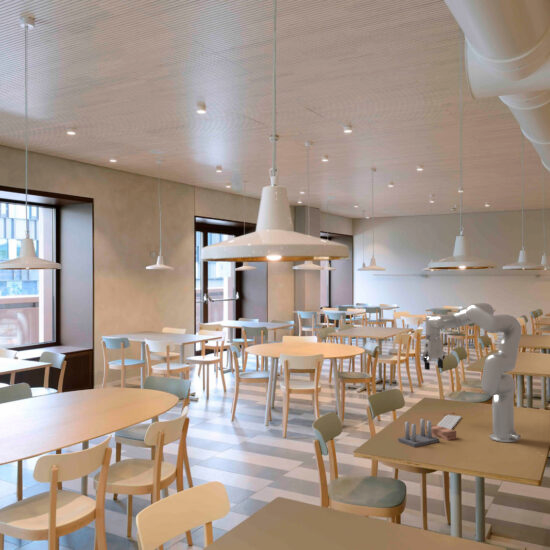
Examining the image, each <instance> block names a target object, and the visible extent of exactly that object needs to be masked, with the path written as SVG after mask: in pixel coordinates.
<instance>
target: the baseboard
mask: <svg viewBox="0 0 550 550" xmlns="http://www.w3.org/2000/svg"><path fill="white" fill-rule="evenodd" d="M446 414H447V415H444V416H443V418H442V419H441V420H440V421H439V422H438V423H437V424H436V425H437V426H441V427H444V428H448V429H451V430H454V428H453V427H455V426H457V424H458V423H459V421H461V419H462V415H459V414H458V413H457V414H456V413H455V412H454V413H453V412H451V413H450V414H448V413H446ZM453 414H454V415H453ZM457 422H458V423H457Z"/></svg>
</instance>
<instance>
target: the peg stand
mask: <svg viewBox="0 0 550 550" xmlns="http://www.w3.org/2000/svg"><path fill="white" fill-rule="evenodd" d="M425 421H426V420H425V418H420V433H418V434H417V424H416V423H411V429H410V422H409V421H405V422H404V428H405V429H404V430H405V431H404V433H405V434H404V435H405V436H402V437H398V438H397V441H399V443H401V444H405V445H406V446H409V445H410V447H413V448H417V447H422V446H426V445H431V444H434V443H439V442H440V438H438V437H435V436H432V428H431V425H432V420H427V421H426V422H425ZM425 423H426V425H425ZM426 426H427V434H426ZM410 430H411V435H410Z"/></svg>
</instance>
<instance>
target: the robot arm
mask: <svg viewBox="0 0 550 550" xmlns="http://www.w3.org/2000/svg"><path fill="white" fill-rule="evenodd" d="M494 312H495V311H494V308H493V306H492V305H491V304H489V303H486V302H483V303H482V302H478V303H472V304H470V305H468V306H467V307H464V308H461V309H460V310H459V312H456V313H452V314H440V315H438V314H427V315H426V316H425V336H424V338H425V341H424V349H423V350H424V352H422V353H421V354H420V357H421V359H422V361H423V362H424V370H428V371H429V370H431V369H430V366H431V365H430V360H431V359H432V360H435V359H437V368H438V369H444V361H445V360H444V359H445V357H446V354H447V352H446V351H445V350H444V347H443V345H444V344H443V341H442V339H441V330H448V329H449V330H450V329H456V328H460V327H464V326H467V325H471V324H475V325H477V327H480V328H481V329H483V330H484V331H486V332H488V333H489V334H490V333H491V334H501V333H502V334H503V335H502V337H501V339H500V341H499V345H498V350H497V352H494V353H491V354H489V355H488V356H487V357H486V358H485V361H484V364H483V370H482V376H481V380H480V381H481V382H480V383H481V389H482V391H483V393H484V394H485V395H488V396H492V401H491V402H492V403H491V404H492V405H491V406H492V407H491V410H492V414H491V415H492V433H491V434H489V439H491V440H493V441H496V442H499V443H500V442H501V443H515V442H518V441H520V439H521V434H517V430H515V418H514V417H515V416H514V415H515V411H514V410H515V408H514V405H515V404H514V398H515V397H514V396H515V391H516V390H515V389H516V381H515V379H514V377H513V376H512V375H511V374H509V372H512V371H514V369H515V368H516V365H517V358H518V353H519V348H520V347H519V346H520V343H521V338H522V333H523V332H522V331H523V330H522V325H521V323H520V322H519V320H518V319H517V318H516V317H514V316H513V315H510V314H496V315H495V314H494Z"/></svg>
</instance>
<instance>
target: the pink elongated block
mask: <svg viewBox="0 0 550 550" xmlns="http://www.w3.org/2000/svg"><path fill="white" fill-rule="evenodd" d="M437 425H438V424H431V428H432V436H433V437H436V438H438V437H439V439H441V438H442V440H446V441H450V440H451V439H452V440H456V439H457V431H456V430H454V429H452V430H451V429H448V428H444V427H441V426H437ZM425 434H426V435H427V425H425ZM455 438H456V439H455Z"/></svg>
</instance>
